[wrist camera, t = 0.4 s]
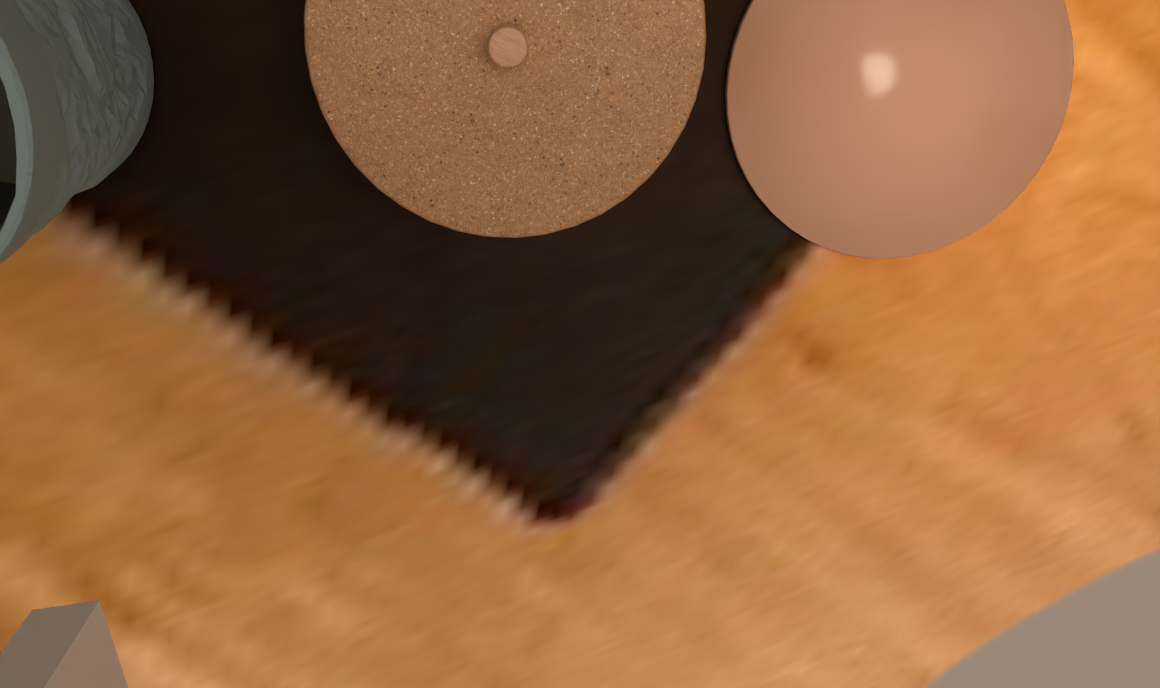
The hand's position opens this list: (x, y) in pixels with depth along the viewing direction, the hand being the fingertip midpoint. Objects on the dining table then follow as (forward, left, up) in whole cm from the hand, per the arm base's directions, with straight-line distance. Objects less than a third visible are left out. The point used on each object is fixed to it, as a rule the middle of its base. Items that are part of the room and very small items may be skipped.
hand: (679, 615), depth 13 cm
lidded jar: (-5, -1, -27) cm, 27 cm away
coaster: (-1, +12, -26) cm, 29 cm away
